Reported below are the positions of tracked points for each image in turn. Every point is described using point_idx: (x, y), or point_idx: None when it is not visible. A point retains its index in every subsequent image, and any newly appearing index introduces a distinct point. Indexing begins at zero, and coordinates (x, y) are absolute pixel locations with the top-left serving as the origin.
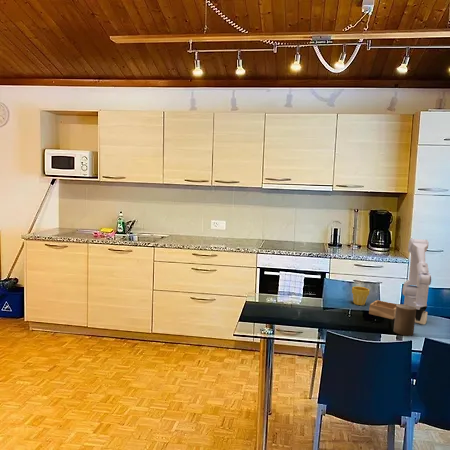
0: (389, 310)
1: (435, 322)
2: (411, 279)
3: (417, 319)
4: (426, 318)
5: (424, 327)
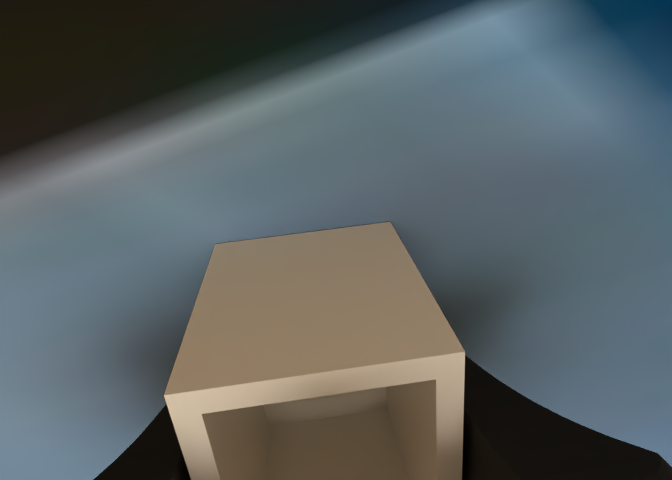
0: None
1: None
2: None
3: None
4: (391, 469)
5: None
